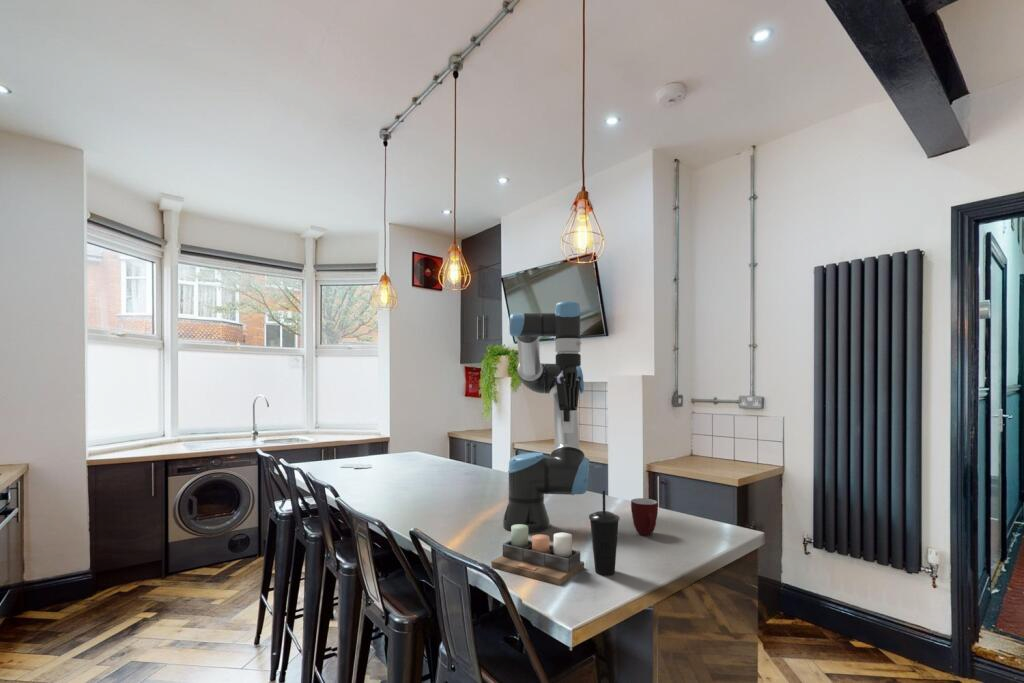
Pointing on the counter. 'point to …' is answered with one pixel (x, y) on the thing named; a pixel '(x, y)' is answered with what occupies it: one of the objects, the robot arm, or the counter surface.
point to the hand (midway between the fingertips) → (568, 432)
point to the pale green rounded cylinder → (519, 535)
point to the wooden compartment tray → (538, 563)
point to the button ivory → (563, 545)
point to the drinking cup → (604, 540)
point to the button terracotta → (540, 543)
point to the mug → (644, 515)
